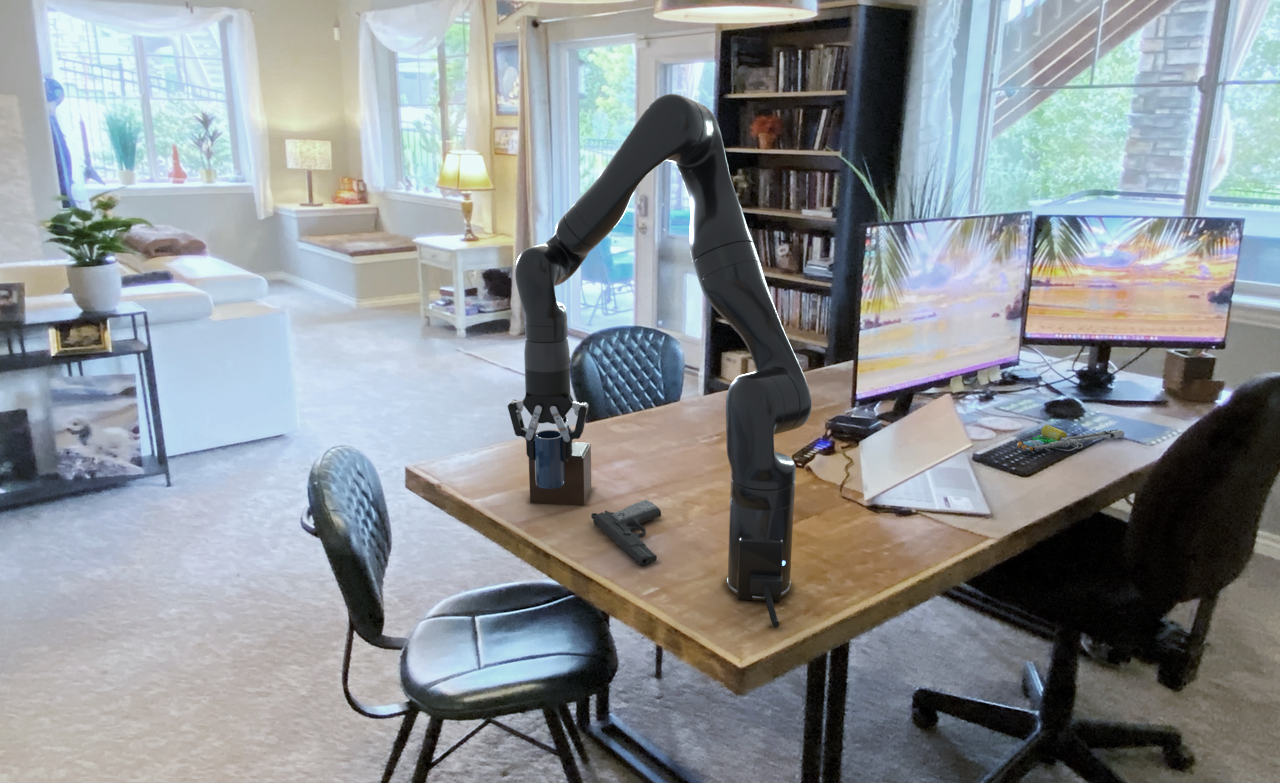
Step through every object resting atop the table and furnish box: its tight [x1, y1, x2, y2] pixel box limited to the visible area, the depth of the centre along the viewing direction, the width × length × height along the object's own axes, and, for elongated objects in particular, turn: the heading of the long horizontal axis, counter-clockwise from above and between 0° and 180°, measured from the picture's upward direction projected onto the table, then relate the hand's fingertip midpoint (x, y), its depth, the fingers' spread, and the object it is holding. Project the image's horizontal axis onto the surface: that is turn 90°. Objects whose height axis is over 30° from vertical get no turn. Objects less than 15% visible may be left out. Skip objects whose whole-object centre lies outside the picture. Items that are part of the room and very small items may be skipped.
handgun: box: [590, 499, 662, 566], centre depth 154 cm, size 19×2×12 cm
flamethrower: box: [1016, 424, 1125, 452], centre depth 200 cm, size 29×3×10 cm
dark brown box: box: [528, 441, 592, 506], centre depth 170 cm, size 8×10×9 cm
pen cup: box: [534, 429, 565, 489], centre depth 160 cm, size 5×5×9 cm
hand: (549, 459), depth 160 cm, fingers closed on pen cup, 5 cm apart
